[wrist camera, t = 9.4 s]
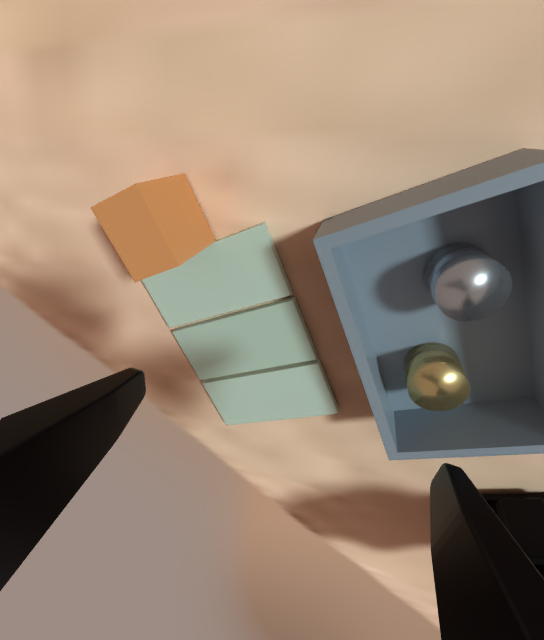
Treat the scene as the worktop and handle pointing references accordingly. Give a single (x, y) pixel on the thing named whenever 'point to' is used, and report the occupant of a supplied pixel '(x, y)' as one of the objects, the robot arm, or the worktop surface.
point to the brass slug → (435, 377)
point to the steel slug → (466, 282)
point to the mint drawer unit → (220, 302)
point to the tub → (428, 320)
